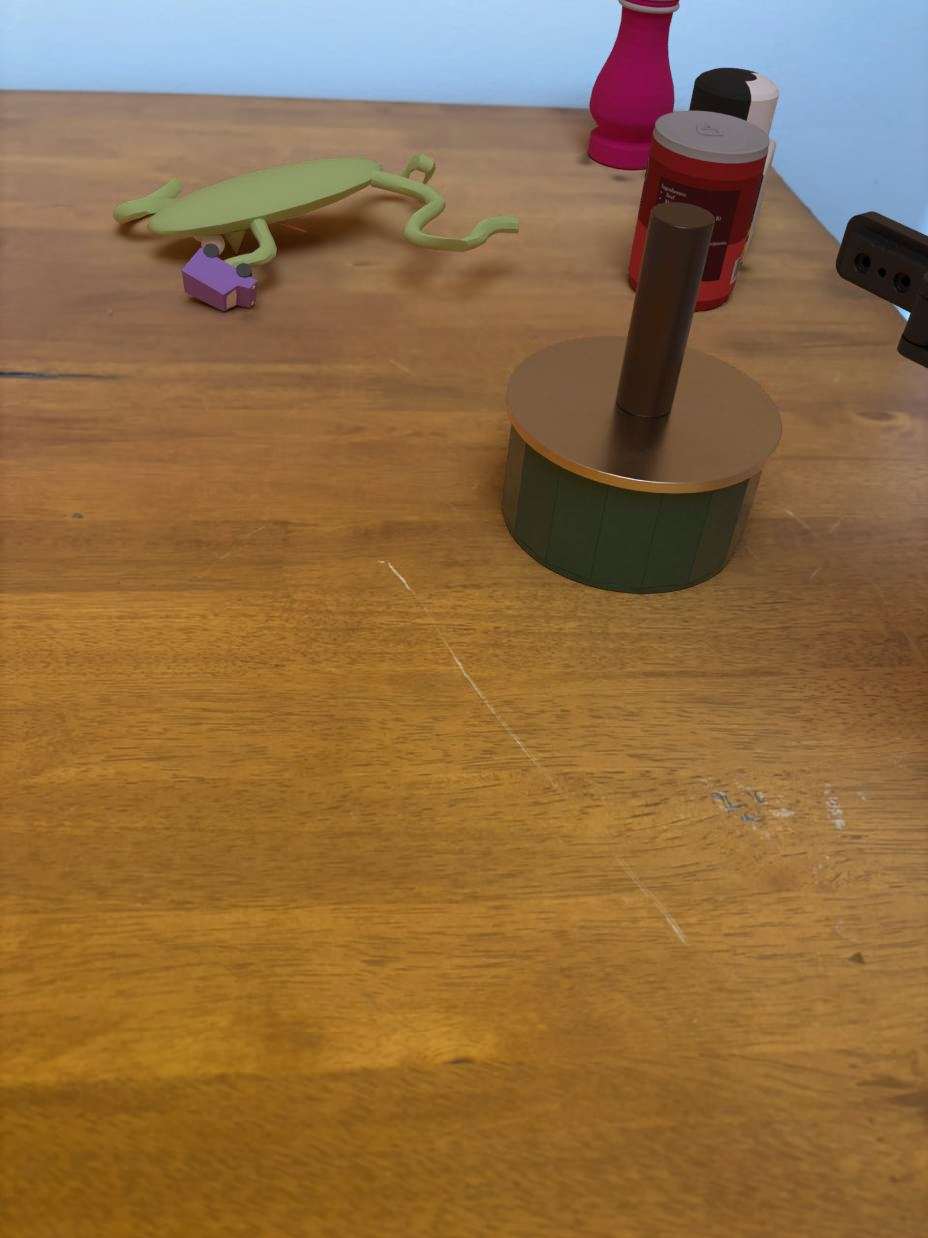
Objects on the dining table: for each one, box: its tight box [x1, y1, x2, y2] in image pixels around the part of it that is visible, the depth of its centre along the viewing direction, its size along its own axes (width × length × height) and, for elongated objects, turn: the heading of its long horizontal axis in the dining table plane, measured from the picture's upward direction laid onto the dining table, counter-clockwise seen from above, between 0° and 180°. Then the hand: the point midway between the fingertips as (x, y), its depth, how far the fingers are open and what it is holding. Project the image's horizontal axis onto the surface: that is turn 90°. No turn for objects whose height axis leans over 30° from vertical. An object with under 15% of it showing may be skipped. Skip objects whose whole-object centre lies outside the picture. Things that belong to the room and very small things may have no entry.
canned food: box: [628, 110, 770, 312], centre depth 79 cm, size 8×8×11 cm
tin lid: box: [505, 202, 783, 494], centre depth 54 cm, size 14×14×11 cm
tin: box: [501, 423, 764, 594], centre depth 59 cm, size 13×13×6 cm
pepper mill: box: [587, 0, 681, 170], centre depth 94 cm, size 7×7×20 cm
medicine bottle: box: [688, 67, 780, 264], centre depth 85 cm, size 7×7×12 cm
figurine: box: [112, 153, 520, 312], centre depth 80 cm, size 18×27×6 cm
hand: (924, 218), depth 41 cm, fingers open, 8 cm apart
